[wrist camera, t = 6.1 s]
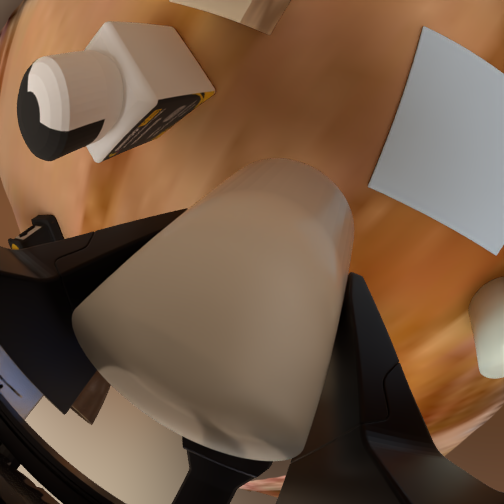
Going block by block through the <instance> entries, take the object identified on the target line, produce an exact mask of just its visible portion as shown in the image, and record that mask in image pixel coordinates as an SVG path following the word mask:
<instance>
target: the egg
mask: <svg viewBox="0 0 504 504" xmlns="http://www.w3.org/2000/svg"><path fill="white" fill-rule="evenodd" d="M353 239H354V221H353V217H352V213H351V210H350V207H349V205H348V202H347V200H346V199H345V197H344V195H343V193H342V192H341V191H340V190H339V188H338V187H337V186H336V185H335V184H334V183H333V182H332V181H331V180H330V179H329V178H328V177H327V176H326V175H324V174H323V173H322V172H320V171H319V170H317V169H315V168H313V167H312V166H309V165H307V164H305V163H302V162H299V161H295V160H291V159H284V158H270V159H263V160H259V161H256V162H253V163H251V164H248V165H246V166H245V167H243V168H242V169H240V170H239V171H237V172H236V173H234V174H233V175H232V176H230V177H229V178H228V179H226V180H225V181H224V182H222V183H221V184H220V185H218V186H217V187H216V188H214V189H213V190H212V191H211V192H209V193H208V194H207V195H205V196H204V197H203V198H201V199H200V200H199V201H198V202H196V203H195V204H194V205H193V206H191V207H190V208H189V209H188V210H186V211H185V212H184V213H183V214H181V215H180V216H179V217H178V218H176V219H175V220H174V221H173V222H171V223H170V224H169V225H168V226H167V227H165V228H164V229H163V230H162V231H161V232H159V233H158V234H157V235H156V236H155V237H153V238H152V239H151V240H150V241H149V242H148V243H146V244H145V245H144V246H143V247H142V248H141V249H140V250H138V251H137V252H136V253H135V254H134V255H133V256H131V257H130V258H129V259H128V260H127V261H126V262H125V263H124V264H122V265H121V266H120V267H119V268H118V269H117V270H116V271H115V272H114V273H113V274H111V275H110V276H109V277H108V278H107V279H106V280H105V281H104V282H103V283H102V284H101V285H100V286H99V287H97V288H96V289H95V290H94V291H93V292H92V293H91V294H90V295H89V296H88V297H87V298H86V299H85V300H84V301H83V302H82V303H81V304H80V305H79V306H78V307H77V308H76V309H75V310H74V312H73V314H72V327H73V330H74V333H75V336H76V338H77V340H78V343H79V344H80V346H81V348H82V350H83V351H84V353H85V354H86V356H87V357H88V359H89V360H90V362H91V363H92V364H93V365H94V367H95V368H96V369H97V370H98V372H99V373H100V374H101V375H102V376H103V377H104V378H105V379H106V380H107V381H108V382H109V384H110V385H111V386H113V387H114V388H115V389H116V390H117V391H118V392H119V393H120V394H121V395H122V396H123V397H125V398H126V399H127V400H128V401H129V402H131V403H132V404H133V405H134V406H136V407H137V408H138V409H140V410H141V411H142V412H144V413H145V414H146V415H148V416H149V417H151V418H152V419H154V420H155V421H157V422H158V423H160V424H162V425H163V426H165V427H167V428H169V429H170V430H172V431H174V432H176V433H177V434H179V435H181V436H183V437H185V438H187V439H189V440H192V441H194V442H196V443H198V444H201V445H203V446H206V447H208V448H211V449H213V450H216V451H219V452H222V453H226V454H229V455H233V456H237V457H241V458H246V459H252V460H260V461H282V460H287V459H291V458H294V457H296V456H298V455H299V454H300V453H301V452H302V451H303V449H304V447H305V444H306V441H307V438H308V435H309V432H310V429H311V426H312V422H313V419H314V416H315V413H316V410H317V406H318V403H319V399H320V396H321V393H322V389H323V385H324V382H325V378H326V374H327V370H328V367H329V363H330V359H331V355H332V351H333V346H334V342H335V338H336V333H337V329H338V324H339V320H340V315H341V310H342V305H343V300H344V295H345V289H346V284H347V278H348V272H349V266H350V260H351V253H352V247H353Z"/></svg>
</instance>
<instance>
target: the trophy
mask: <svg viewBox="0 0 504 504" xmlns="http://www.w3.org/2000/svg"><path fill="white" fill-rule="evenodd" d="M32 224H33V226H31V227H30V228H28V229H27V230H25V231H24V232H23V233H21V234H20V235H19V236H17V237H16V238H15V239H8V241H9V245H10V247H11V249H15V250H16V249H25V248H29V247H33V246H37V245H42V244H46V243H50V242H55V241H59V240H63V236H62V234H61V231H60V229H59V226H58V224H57V221H56V219H55V217H54V216H52V215H38V216H36V217H35V218H33V219H32Z"/></svg>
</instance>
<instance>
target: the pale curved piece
mask: <svg viewBox="0 0 504 504" xmlns="http://www.w3.org/2000/svg"><path fill="white" fill-rule="evenodd" d="M469 318H470V322H471V327H472V332H473V336H474V341H475V347H476V352H477V358H478V365H479V370H480V373H481V374H482V375H483V376H485V377H487V378H502V377H504V277H500V278H496V279H494V280H491V281H490V282H488V283H486V284H485V285H484V286H482V287H481V288H480V289H479V290H478V291H477V292H476V294H475V295H474V297H473V298H472V300H471V302H470V305H469Z"/></svg>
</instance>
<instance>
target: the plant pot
mask: <svg viewBox="0 0 504 504" xmlns="http://www.w3.org/2000/svg"><path fill="white" fill-rule="evenodd" d="M110 386H111V385H110V384H109V382H108V381H107V380H106V379H105V378H104V377H103V376H102V375H101V374H100V373H99V372H98V370H97V371H96V373H95V374H94V375H93V377H92V378H91V379H90V381H89V382H88V383H87V385H86V386H85V388H84V389H83V390H82V392H81V393H80V395H79V396H78V397H77V399H76V400H75V402H74V403H73V405H72V406H71V407H70V408H71V409H72V410H73V411H74V412H75V413H77V414H78V415H79V416H80V417H81V418H83V419H84V420H85V421H87V422H88V423H90V424H91V425H92V424H93V422H94V420H95V418H96V417H97V415H98V413H99V411H100V409H101V407H102V405H103V403H104V400H105V398H106V396H107V393H108V391H109V388H110Z"/></svg>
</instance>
